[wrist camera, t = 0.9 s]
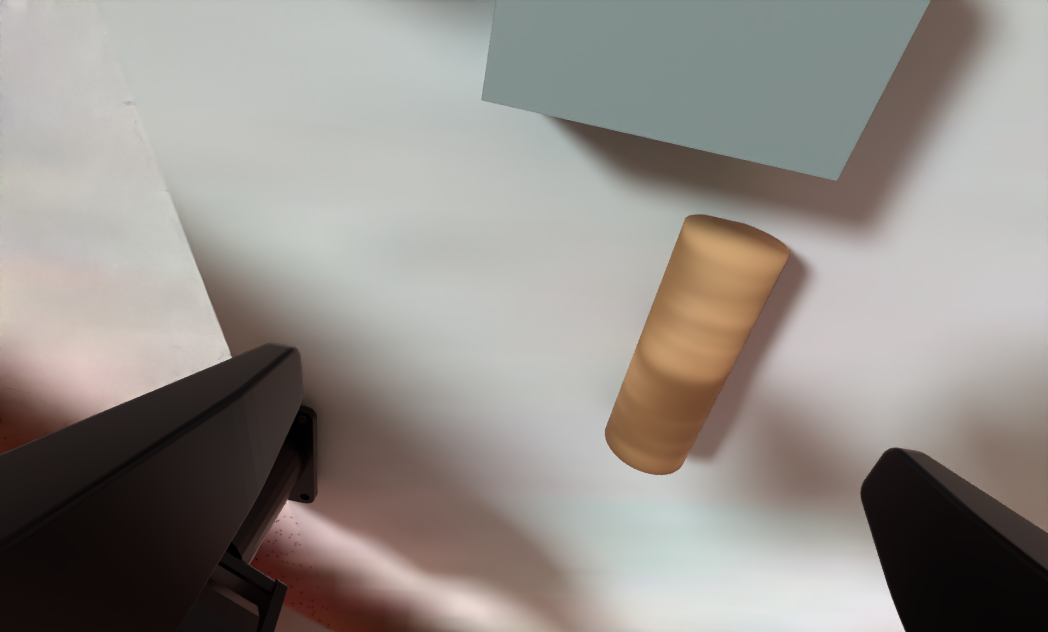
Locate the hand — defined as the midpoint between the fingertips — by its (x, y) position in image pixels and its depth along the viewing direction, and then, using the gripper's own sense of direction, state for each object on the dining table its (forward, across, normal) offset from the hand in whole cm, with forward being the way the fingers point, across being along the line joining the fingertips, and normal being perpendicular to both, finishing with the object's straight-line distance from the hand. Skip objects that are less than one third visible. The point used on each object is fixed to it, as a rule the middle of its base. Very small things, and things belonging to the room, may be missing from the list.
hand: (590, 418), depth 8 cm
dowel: (+13, -5, +5) cm, 15 cm away
